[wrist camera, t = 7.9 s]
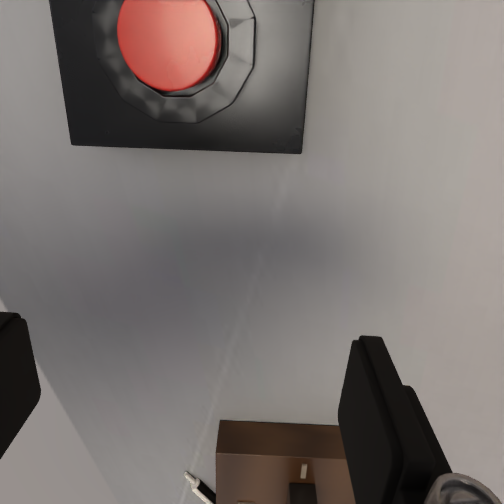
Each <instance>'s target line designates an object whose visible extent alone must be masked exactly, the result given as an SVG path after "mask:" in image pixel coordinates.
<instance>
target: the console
mask: <svg viewBox="0 0 504 504" xmlns="http://www.w3.org/2000/svg"><path fill="white" fill-rule="evenodd" d="M289 483H295V484H315V486H316V494H317V502H318V504H356V503H355V498H354V493H353V489H352V484H351V479H350V474H349V470H348V465H347V460H346V456H345V451H344V446H343V441H342V437H341V432H340V427H339V426H327V425H306V424H285V423H263V422H242V421H220V423H219V431H218V439H217V447H216V504H287V497H288V487H289Z"/></svg>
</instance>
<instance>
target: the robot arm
mask: <svg viewBox="0 0 504 504" xmlns="http://www.w3.org/2000/svg"><path fill="white" fill-rule="evenodd" d="M40 395H41V388H40V383H39V379H38V374H37V369H36V364H35V360H34V355H33V350H32V345H31V341H30V336H29V331H28V326H27V322H26V320H25V319H23V318H21V316H20V315H19V314H18V313H12V312H0V459H1V457H2V456H3V454H4V453H5V451H6V450H7V448H8V447H9V445H10V444H11V442H12V441H13V439H14V438H15V436H16V435H17V433H18V432H19V430H20V429H21V427H22V426H23V424H24V423H25V421H26V420H27V418H28V417H29V415H30V414H31V412H32V411H33V409H34V408H35V406H36V405H37V403H38V401H39V399H40ZM338 422H339V427H340V432H341V437H342V441H343V446H344V451H345V456H346V460H347V465H348V470H349V474H350V479H351V484H352V489H353V493H354V498H355V503H356V504H502V503H501V502H500V500H499V499H498V497H497V496H496V495H495V494H494V493H493V492H492V491H491V490H490V489H489V488H487V487H486V486H485V485H483V484H482V483H481V482H479V481H477V480H475V479H473V478H471V477H469V476H466V475H463V474H459V473H453V472H452V470H451V468H450V466H449V464H448V462H447V460H446V457H445V455H444V453H443V451H442V449H441V447H440V444H439V442H438V440H437V438H436V436H435V434H434V432H433V429H432V427H431V425H430V423H429V421H428V419H427V417H426V414H425V412H424V410H423V408H422V406H421V404H420V401H419V399H418V397H417V395H416V393H415V391H414V390H413V388H412V387H411V386H405V385H402V382H401V380H400V378H399V376H398V373H397V371H396V369H395V366H394V364H393V362H392V359H391V357H390V355H389V353H388V350H387V348H386V346H385V343H384V341H383V339H382V337H378V336H363V335H361V336H360V337H359V340H353V342H352V345H351V350H350V355H349V360H348V364H347V369H346V374H345V379H344V384H343V389H342V393H341V398H340V403H339V408H338Z"/></svg>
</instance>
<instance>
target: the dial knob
mask: <svg viewBox="0 0 504 504" xmlns="http://www.w3.org/2000/svg"><path fill="white" fill-rule="evenodd" d="M287 504H318V502H317V494H316V486H315V484H295V483H289V487H288V497H287Z"/></svg>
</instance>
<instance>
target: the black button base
mask: <svg viewBox="0 0 504 504" xmlns="http://www.w3.org/2000/svg"><path fill="white" fill-rule="evenodd" d="M206 1H207V2H208V3H209V5H210V6H211V7H212V9H213V11H214V13H215V14H216V17H217V19H218V22H219V25H220V30H221V38H222V44H221V52H220V56H219V60H218V62H217V64H216V67H215V68H214V70H213V71H212V73H211V74H210V75H209V76H208V77H207V78H206V79H205V80H204V81H203V82H201V83H200V84H198V85H196V86H194V87H191V88H188V89H185V90H180V91H163V90H159V89H156V88H153V87H151V86H149V85H147V84H146V83H144V82H143V81H142V80H140V79H139V78H138V77H137V76H136V75H135V74H134V73H133V72H132V71H131V69H130V68H129V66H128V65H127V63H126V62H125V60H124V58H123V55H122V53H121V50H120V47H119V43H118V37H117V22H118V16H119V12H120V9H121V6H122V4H123V2H124V0H49V4H50V10H51V16H52V23H53V29H54V36H55V42H56V49H57V55H58V62H59V68H60V75H61V81H62V88H63V94H64V100H65V107H66V113H67V120H68V126H69V133H70V139H71V144H72V145H76V146H102V147H128V148H154V149H180V150H206V151H232V152H258V153H284V154H301V153H302V145H303V133H304V121H305V109H306V97H307V86H308V74H309V62H310V50H311V38H312V26H313V14H314V2H315V0H206Z"/></svg>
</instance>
